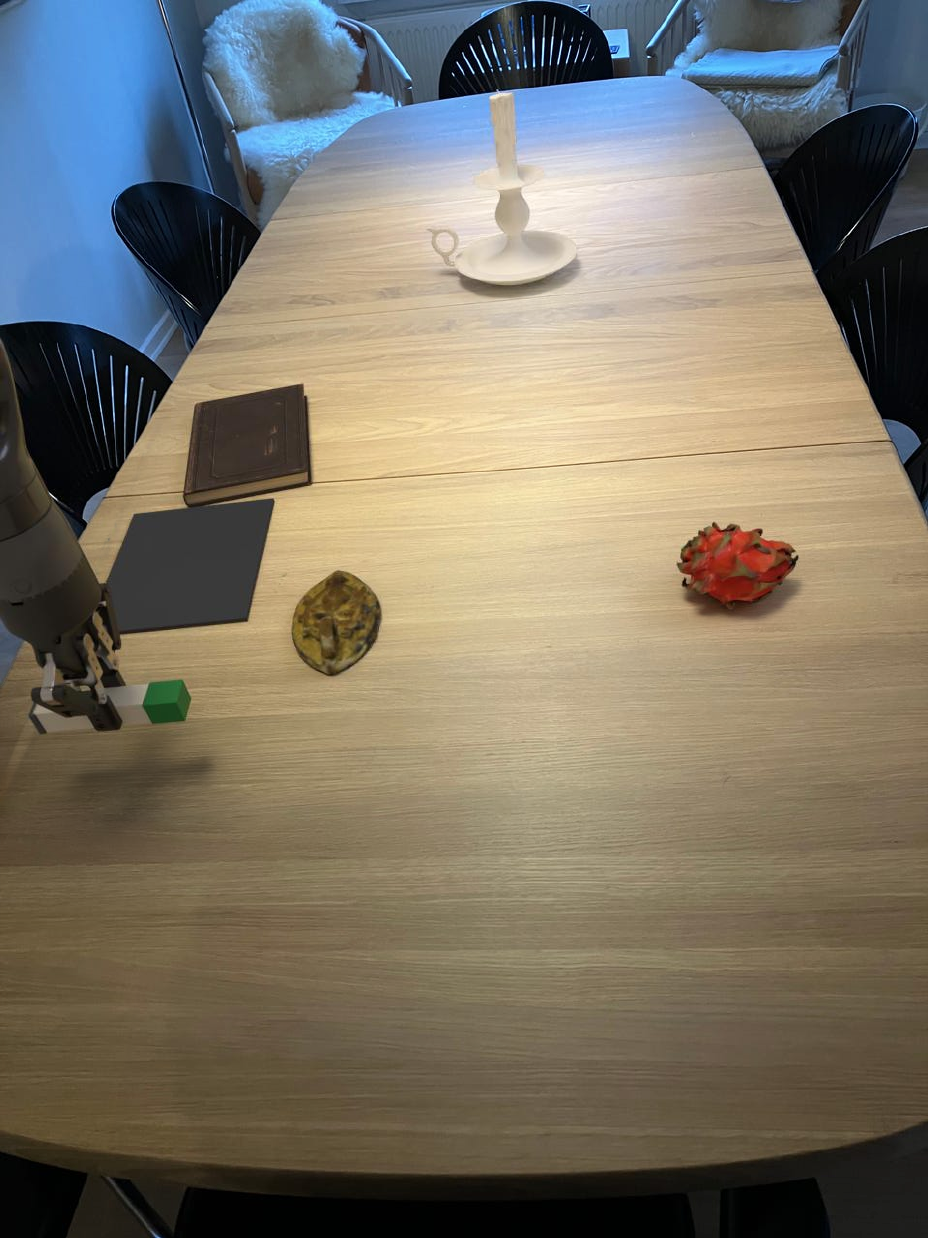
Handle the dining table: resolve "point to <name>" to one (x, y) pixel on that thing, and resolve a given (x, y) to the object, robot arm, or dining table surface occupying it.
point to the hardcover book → (248, 446)
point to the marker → (126, 707)
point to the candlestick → (509, 217)
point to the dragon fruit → (735, 564)
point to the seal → (335, 622)
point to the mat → (189, 566)
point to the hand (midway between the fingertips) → (115, 714)
